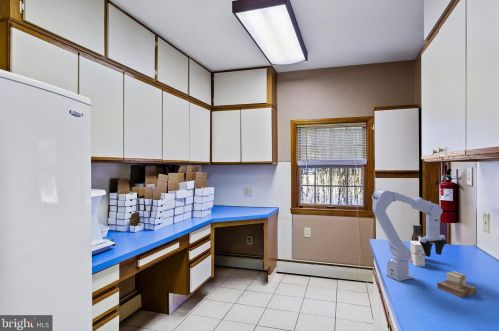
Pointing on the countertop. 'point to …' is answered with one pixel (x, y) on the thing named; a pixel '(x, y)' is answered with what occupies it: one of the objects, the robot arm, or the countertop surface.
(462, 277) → the maple cube
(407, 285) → the countertop surface
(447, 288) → the walnut block
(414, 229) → the sauce bottle
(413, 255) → the ink cartridge box
